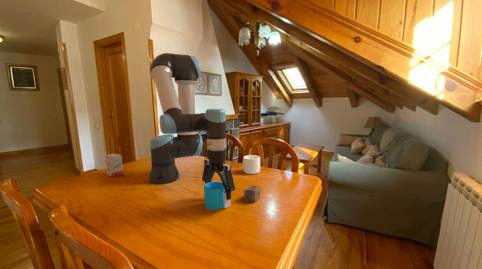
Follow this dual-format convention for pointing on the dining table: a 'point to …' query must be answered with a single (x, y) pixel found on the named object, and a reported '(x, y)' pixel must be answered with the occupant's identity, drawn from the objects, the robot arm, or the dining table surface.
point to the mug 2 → (251, 164)
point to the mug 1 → (214, 195)
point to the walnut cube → (252, 193)
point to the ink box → (114, 165)
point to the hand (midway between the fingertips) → (218, 202)
